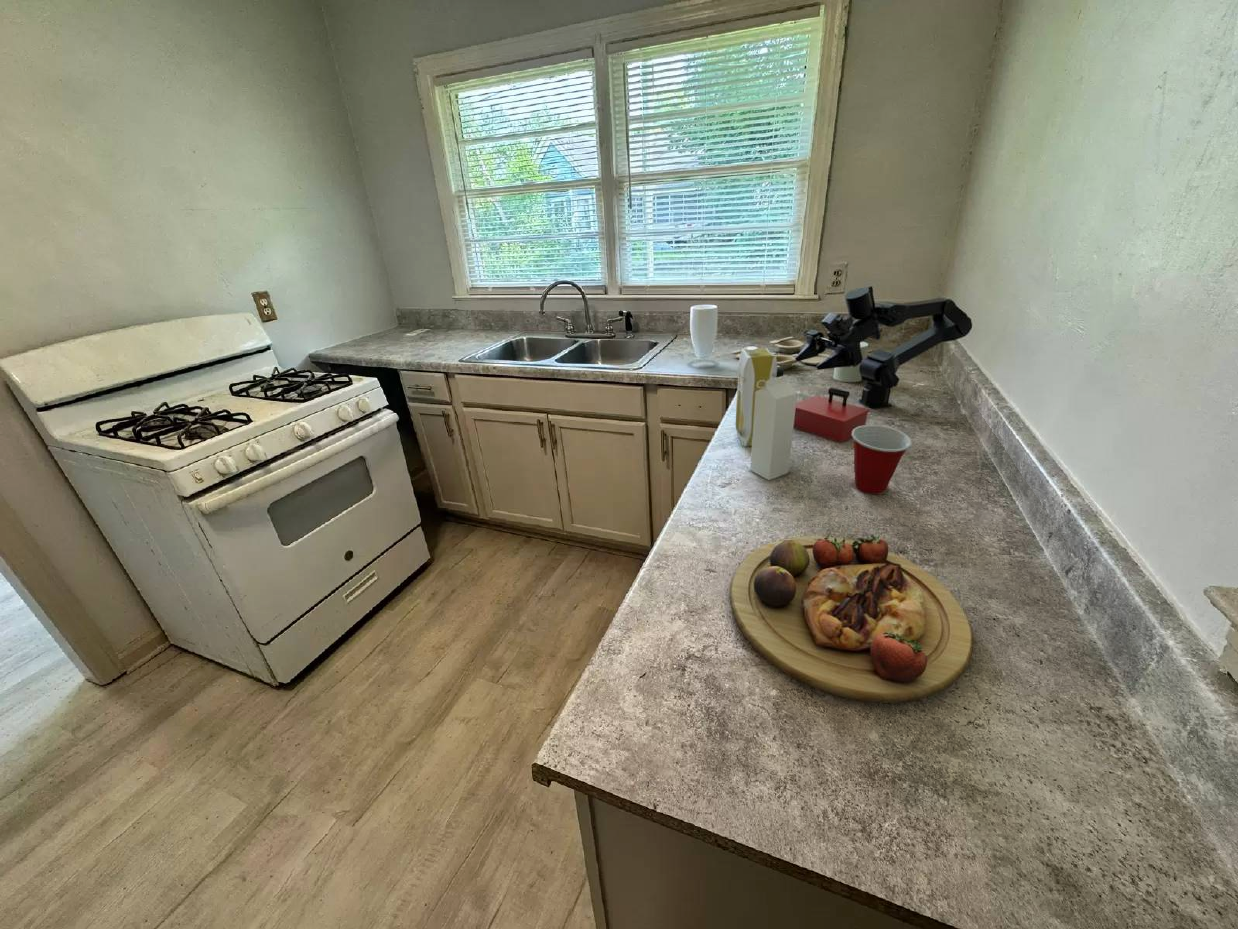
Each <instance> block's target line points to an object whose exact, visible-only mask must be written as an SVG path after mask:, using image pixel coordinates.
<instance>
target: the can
mask: <svg viewBox="0 0 1238 929" xmlns="http://www.w3.org/2000/svg"><path fill="white" fill-rule="evenodd" d="M860 345H861V346H860V348H861V352H862V357H863V360H864V359H865V358H867V357H866V355H868V354H867V353H868V348H869V343H868V342H865V341H862V342H861V343H860ZM863 360H862V361H863ZM859 368H860V364H859V365H857V366H856V367H853V366H850V367H838V368H834V370H833V371H834V372H833V376H832V378H833V380H835V381H838V382H843V383H857V382H859V383H860V382H861V381H862V380H861V374H860V372H859Z"/></svg>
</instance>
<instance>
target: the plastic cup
mask: <svg viewBox="0 0 1238 929" xmlns="http://www.w3.org/2000/svg"><path fill="white" fill-rule="evenodd" d="M851 438H852V440H853V472H854V484H855V485H854V486H855V487H856V489H857V490H859V491H860V492H862V493H865V494H869V495H879V494H883V493H884V492H886V490H887V488H888V487H889V484H890V481H891V479H892V478H893V476H894V474H895V471H896V469H897V467H898V465H899V463H900V460H902V459H901V458H902V457H903V456H904V454H905V453H906V451H907V450H908V449H909V448H911V446H912V443H913V440H912V439H911V438H910V437H909V435H908V434H907V433H904V432H903V431H901V430H899V429H896V428H893V427H890V426H885V425H879V424H865V425H863V426H858V427H856V428H855V429H853V431H852V437H851Z"/></svg>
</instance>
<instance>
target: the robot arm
mask: <svg viewBox="0 0 1238 929" xmlns="http://www.w3.org/2000/svg"><path fill="white" fill-rule="evenodd" d="M844 299H845V304H846V308H847V313H848V316H847V315H846V316H843V315H841V314H838V313H835V312H829V313H828V314H826V316H824V318H823V319H822V321H821V322H820V323H821V325H823V326H824V327H825V329H826V330H827V332H826V336H827V337H828V338H825V335H824V332H822V331H818V330H814V329H810V330H809V331H807V332H806V333H805V336H806V337H805V339H806V343H805V344H804V346H803V347H802V349H801V350H800V352H799V353H797V354H798V355H797V356H796V358H795V359H796V361H798V362H801V360H805V359H808V358H811V357H815V356H818V354H824V353H825V351H826V349H827V350H830V351H831V352H832V354H829V355H830V356H829V357H827V358H826V359H825V360H823V361H822V362H821V363H820V364H818V365H815V367H816V370H817V371H822V370H828V369H835V368H838V367H850V366H853V367H856V366H857V365H859V364H860V368H859V372H860V374H861V381H863V382H865V383H864V387H863V388H862V392H861V398H859V399H858V402H859V403H861V404H863V405H865V406H866V407H867V408H870V409H877V408H885V407H892V406H893V403H891V402H889V401H890V396H891V391H892V389H893V388H895V387H897V385H899V384H898V383H899V381H900V378H899V376H898V375H897V372H898V370H899V368H900V366H902V365H903V364H905V363H907V362H909V361H911V360H913V359H914V358H916V357H918V356H920V355H922V354H924V353H925V352H927V351H928V350H930V349H932V348H934V347H937V345H939V344H941V343H946V342H953V341H957V340H959V339H962V338H964V337H966V336H968V334H969V333H970V332H971V330H972V328H973V322H972V319H971V318H970V316H968V314H967V313H966V312H965V311H963V309H961V308H960V307H959V306H957V304H956V302H955V301H954V300H952V299H950V298H946V297H945V298H943V297H935V298H931V299H923V300H918V301H910V302H904V303H899V302H891V301H875V297H874V288H873V286H872V285H864V287H859V288H855V289H851V290H849V291H847V292H846V293H845V294H844ZM925 317H931V321H932V324H931V327H930V328H929V329H927V330H925V331H924V332H922V333H920V334H919V335H917V336H915V337H912V338H911V339H910V340H907V341H906V342H904V343H902V344H901V345H899V346H897V347H895V348H894V349H892V350H890V351H886V350H883V349H879V348H878V349H876V350H874V351H873V352H872V353H870V354H866V358H865V359H864V360H863V357H862V352H861V348H860V346H861V345H860V343H861V342H865V340H867V339H869V338H870V339H873V340H880V338H881V333H882V332H883V331H882V329H880V326H885V327H887V328H888V327H889V328H894V327H896V326H900V325H902V324H904V323H905V322H906V321H907V320H911V319H919V318H925ZM879 325H880V326H879ZM862 360H863V361H862Z"/></svg>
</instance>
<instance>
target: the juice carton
mask: <svg viewBox="0 0 1238 929" xmlns="http://www.w3.org/2000/svg"><path fill="white" fill-rule="evenodd" d="M744 349H745V348H744ZM740 350H741V355H740V359H739V358H738V359H739V360H738V366H737V368H738V369H737V371H738V372H737V386H736V388H737V389H736V406H735V430H736V435H737V437H738V438H739V440H740V442H741V444H742V446H743V447H752V437H753V422H754V408H755V393H756V391H758V390H761V389H763V388H766V382H767V380H770V379H773V378H776V376H777V359H776V356H775V355H773V354H772V353H773V352H771V351H770V350H769V348H766V347H764V348H761V347H759V348H758V347H757V346H751V347H749V348H747V349H745V350H742V349H740Z"/></svg>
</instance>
